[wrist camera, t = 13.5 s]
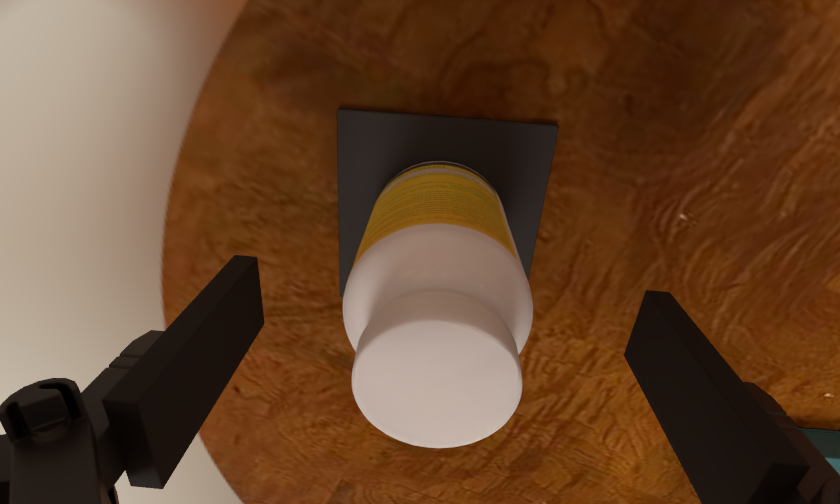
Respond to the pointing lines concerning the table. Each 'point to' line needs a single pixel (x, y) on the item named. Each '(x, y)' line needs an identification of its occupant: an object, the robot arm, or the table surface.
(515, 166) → the mat
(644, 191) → the table surface
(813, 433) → the tray
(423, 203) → the pill bottle
